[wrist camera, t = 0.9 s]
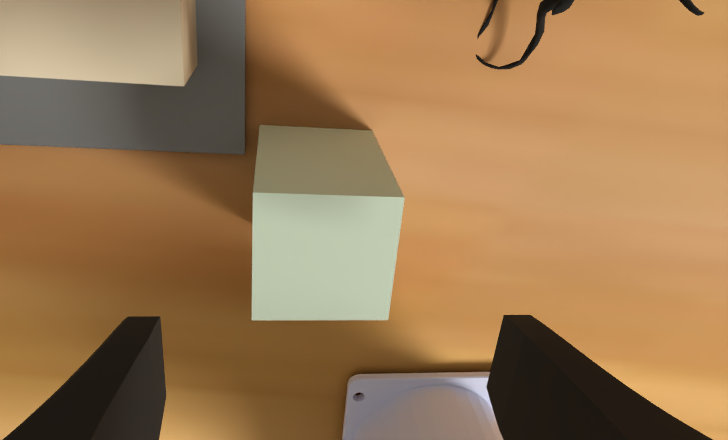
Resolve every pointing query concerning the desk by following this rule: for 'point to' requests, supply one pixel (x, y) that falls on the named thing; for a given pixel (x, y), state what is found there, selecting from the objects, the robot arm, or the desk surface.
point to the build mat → (142, 100)
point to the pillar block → (323, 225)
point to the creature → (557, 3)
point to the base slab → (99, 40)
